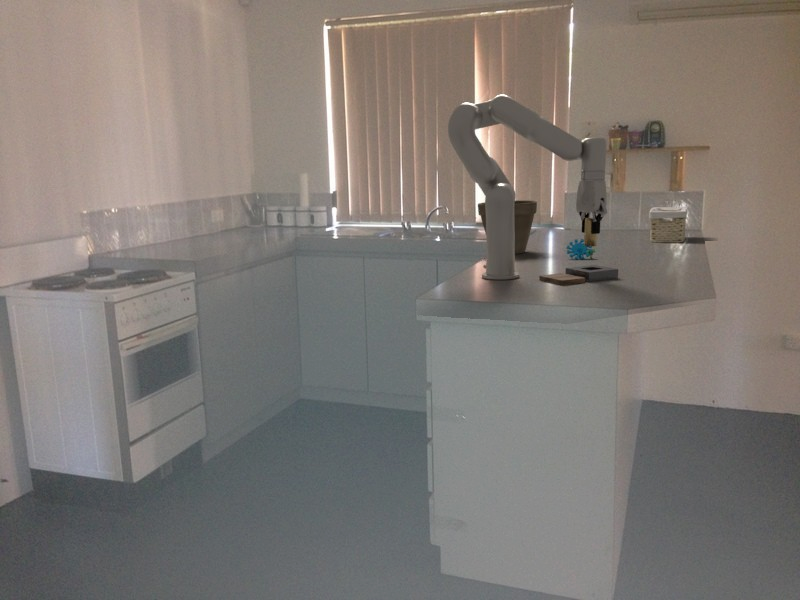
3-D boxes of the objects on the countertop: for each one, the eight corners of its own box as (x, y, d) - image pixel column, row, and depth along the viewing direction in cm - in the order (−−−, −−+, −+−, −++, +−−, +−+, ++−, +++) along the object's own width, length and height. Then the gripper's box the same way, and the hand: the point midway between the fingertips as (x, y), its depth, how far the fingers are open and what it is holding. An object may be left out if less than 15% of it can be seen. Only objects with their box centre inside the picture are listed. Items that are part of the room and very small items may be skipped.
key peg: (581, 245, 237) (582, 218, 235) (590, 244, 239) (592, 217, 237) (589, 246, 234) (590, 219, 232) (598, 245, 235) (600, 218, 234)
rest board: (539, 280, 236) (539, 275, 236) (561, 277, 240) (561, 273, 239) (562, 285, 225) (562, 280, 225) (584, 282, 229) (585, 277, 229)
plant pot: (473, 256, 301) (472, 204, 297) (483, 248, 325) (483, 200, 321) (533, 256, 294) (533, 203, 290) (539, 249, 317) (539, 199, 313)
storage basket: (685, 243, 322) (686, 210, 319) (647, 243, 328) (648, 210, 325) (686, 237, 343) (687, 206, 340) (650, 237, 349) (651, 206, 347)
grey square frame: (565, 276, 241) (565, 268, 240) (593, 273, 246) (593, 264, 245) (588, 281, 230) (589, 272, 230) (618, 278, 235) (618, 269, 235)
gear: (563, 255, 282) (569, 235, 286) (564, 264, 286) (570, 245, 291) (591, 260, 277) (597, 240, 282) (591, 269, 282) (598, 249, 286)
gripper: (567, 176, 238) (565, 231, 241) (601, 177, 223) (598, 236, 226) (585, 176, 241) (583, 230, 244) (619, 176, 226) (617, 234, 230)
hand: (590, 232), depth 235 cm, fingers closed on key peg, 4 cm apart
